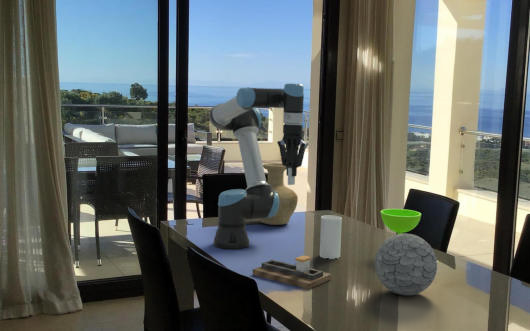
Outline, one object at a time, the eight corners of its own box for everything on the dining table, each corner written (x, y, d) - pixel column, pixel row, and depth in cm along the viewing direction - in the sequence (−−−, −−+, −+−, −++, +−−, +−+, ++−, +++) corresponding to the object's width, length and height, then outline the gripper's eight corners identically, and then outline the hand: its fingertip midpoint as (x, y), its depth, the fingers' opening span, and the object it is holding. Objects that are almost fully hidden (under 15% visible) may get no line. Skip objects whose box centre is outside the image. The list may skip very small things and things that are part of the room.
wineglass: (392, 249, 249) (394, 207, 247) (426, 256, 237) (428, 213, 235) (370, 255, 238) (372, 212, 235) (404, 264, 226) (407, 218, 224)
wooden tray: (252, 274, 208) (252, 264, 208) (275, 266, 219) (276, 256, 219) (309, 289, 194) (309, 278, 193) (330, 279, 205) (331, 269, 204)
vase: (297, 229, 281) (299, 167, 277) (251, 228, 281) (252, 166, 278) (296, 219, 303) (297, 162, 300) (252, 218, 304) (254, 161, 300)
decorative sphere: (397, 307, 179) (400, 243, 176) (361, 287, 197) (364, 229, 194) (448, 300, 187) (452, 238, 184) (409, 281, 205) (412, 225, 202)
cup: (339, 259, 230) (340, 219, 228) (318, 258, 232) (320, 218, 230) (340, 254, 238) (342, 215, 236) (320, 252, 240) (322, 214, 238)
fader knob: (294, 274, 202) (295, 258, 202) (302, 271, 206) (303, 255, 206) (303, 276, 200) (303, 259, 200) (310, 273, 204) (311, 257, 204)
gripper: (273, 123, 226) (272, 183, 229) (301, 125, 218) (299, 187, 221) (284, 123, 232) (283, 181, 235) (312, 124, 224) (310, 185, 227)
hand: (291, 184), depth 228 cm, fingers closed
